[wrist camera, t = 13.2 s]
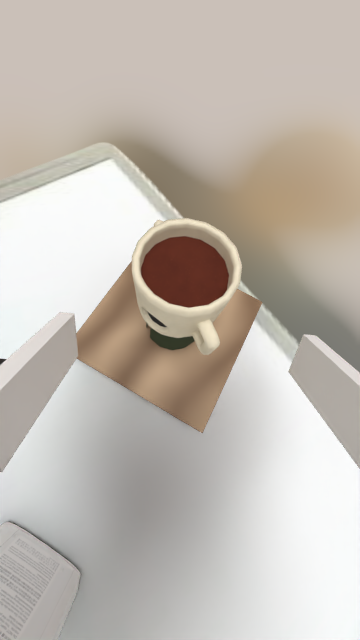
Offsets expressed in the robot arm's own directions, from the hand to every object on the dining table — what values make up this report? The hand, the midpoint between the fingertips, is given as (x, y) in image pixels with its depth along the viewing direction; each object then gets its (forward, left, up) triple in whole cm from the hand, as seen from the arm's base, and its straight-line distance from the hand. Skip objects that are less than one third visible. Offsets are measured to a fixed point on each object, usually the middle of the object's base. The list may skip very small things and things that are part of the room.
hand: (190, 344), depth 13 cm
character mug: (-3, +4, -13) cm, 14 cm away
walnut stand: (-3, +4, -17) cm, 18 cm away
